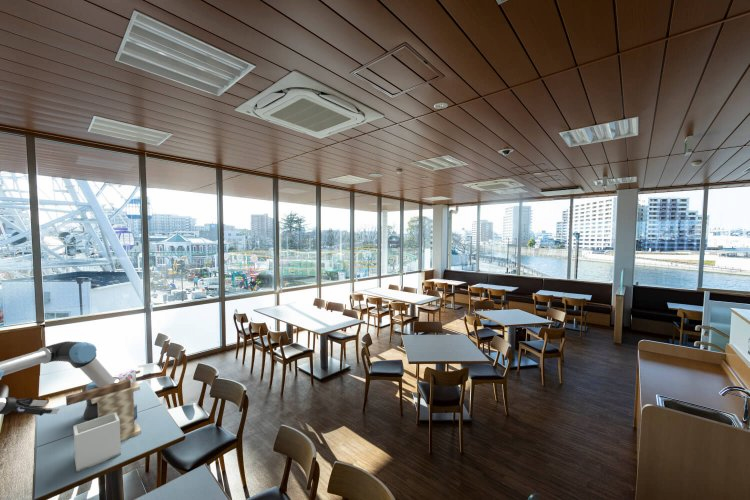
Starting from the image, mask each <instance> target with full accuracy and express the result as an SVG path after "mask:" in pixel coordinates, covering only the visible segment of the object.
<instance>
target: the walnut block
mask: <svg viewBox="0 0 750 500" xmlns="http://www.w3.org/2000/svg"><path fill="white" fill-rule="evenodd" d="M130 387H131V381H130V379H127V380H124V381H120V382H116V383H113V384H109V385H105V386H102V387H98V388H94V389H90V390H87V391H86V390H84V391H81V392H76V393H72V394H69V395H66V396H65V401H66V403H65V404H66V407H67V406H71V405H74V404H79V403H82V402H84V401H86V400H89V399H92V398H95V397H99V396H102V395H106V394H109V393H113V392H116V391H120V390H123V389H127V388H130Z"/></svg>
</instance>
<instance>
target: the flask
mask: <svg viewBox="0 0 750 500" xmlns="http://www.w3.org/2000/svg"><path fill="white" fill-rule="evenodd" d="M137 419H138V405H137V404H136V403H134V422H135V421H136V420H137Z"/></svg>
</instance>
